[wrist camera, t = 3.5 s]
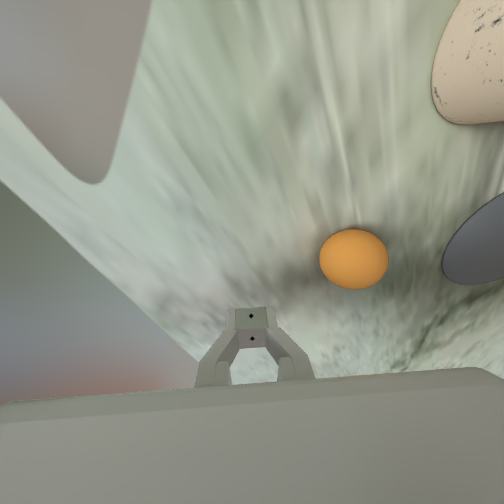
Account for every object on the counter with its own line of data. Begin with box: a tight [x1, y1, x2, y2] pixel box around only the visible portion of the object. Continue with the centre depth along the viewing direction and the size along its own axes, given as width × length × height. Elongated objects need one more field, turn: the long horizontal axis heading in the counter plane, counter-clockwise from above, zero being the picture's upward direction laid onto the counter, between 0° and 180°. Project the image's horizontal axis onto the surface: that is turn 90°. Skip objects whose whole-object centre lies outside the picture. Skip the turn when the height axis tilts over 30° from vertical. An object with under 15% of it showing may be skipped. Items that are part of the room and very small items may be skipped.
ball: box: [319, 229, 389, 289], centre depth 16 cm, size 6×6×6 cm
